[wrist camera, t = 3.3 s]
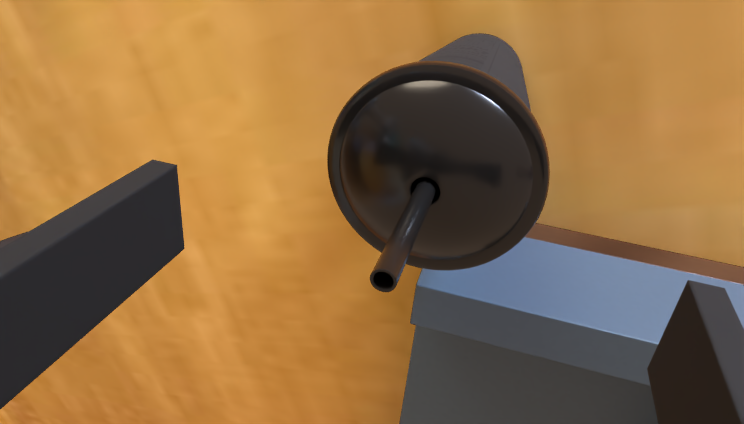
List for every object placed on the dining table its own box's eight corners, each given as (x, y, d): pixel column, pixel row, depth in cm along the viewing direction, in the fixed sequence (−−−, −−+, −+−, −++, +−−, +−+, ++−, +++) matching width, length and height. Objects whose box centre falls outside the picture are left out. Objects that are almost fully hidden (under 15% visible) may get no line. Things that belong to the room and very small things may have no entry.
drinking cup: (414, 144, 33) (270, 380, 16) (404, 11, 30) (209, 131, 13) (547, 144, 31) (543, 417, 14) (553, -1, 27) (555, 127, 10)
